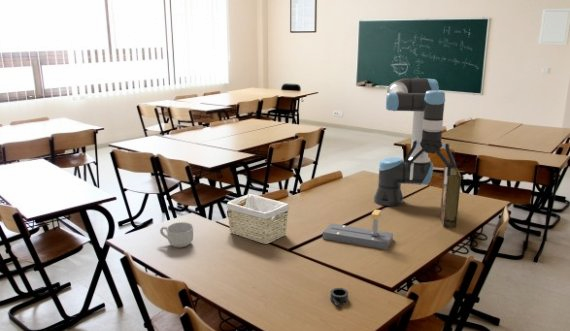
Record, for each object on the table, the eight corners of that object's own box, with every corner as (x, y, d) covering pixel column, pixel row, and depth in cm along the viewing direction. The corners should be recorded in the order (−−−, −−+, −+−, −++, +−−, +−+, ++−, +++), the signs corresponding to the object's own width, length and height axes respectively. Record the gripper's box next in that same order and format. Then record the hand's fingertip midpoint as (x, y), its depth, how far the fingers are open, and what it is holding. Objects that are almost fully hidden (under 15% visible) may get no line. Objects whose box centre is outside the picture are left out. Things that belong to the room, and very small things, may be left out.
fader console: (392, 239, 204) (393, 232, 203) (387, 249, 194) (387, 242, 194) (330, 229, 215) (330, 223, 214) (322, 238, 205) (322, 231, 204)
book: (439, 215, 233) (444, 165, 226) (451, 216, 232) (456, 166, 225) (443, 227, 217) (448, 175, 211) (456, 228, 216) (461, 175, 210)
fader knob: (380, 232, 203) (381, 210, 200) (377, 237, 198) (378, 215, 195) (373, 231, 204) (374, 209, 202) (369, 236, 199) (371, 214, 196)
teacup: (198, 241, 202) (197, 223, 200) (185, 251, 192) (184, 233, 190) (170, 237, 206) (169, 219, 204) (155, 247, 196) (154, 229, 194)
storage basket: (225, 233, 211) (224, 201, 207) (250, 222, 223) (250, 192, 220) (266, 247, 197) (265, 213, 193) (290, 235, 209) (290, 203, 205)
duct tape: (320, 301, 156) (320, 293, 155) (338, 290, 163) (339, 282, 162) (339, 310, 151) (339, 302, 150) (357, 298, 158) (357, 290, 157)
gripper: (466, 131, 187) (461, 182, 192) (402, 126, 197) (399, 175, 202) (464, 134, 180) (459, 187, 186) (398, 129, 191) (395, 179, 196)
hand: (428, 181), depth 194 cm, fingers open, 13 cm apart
